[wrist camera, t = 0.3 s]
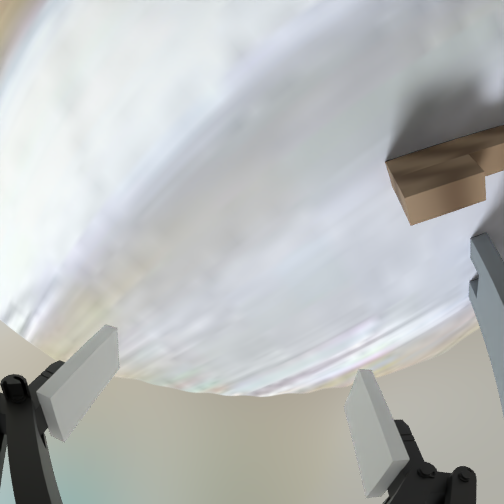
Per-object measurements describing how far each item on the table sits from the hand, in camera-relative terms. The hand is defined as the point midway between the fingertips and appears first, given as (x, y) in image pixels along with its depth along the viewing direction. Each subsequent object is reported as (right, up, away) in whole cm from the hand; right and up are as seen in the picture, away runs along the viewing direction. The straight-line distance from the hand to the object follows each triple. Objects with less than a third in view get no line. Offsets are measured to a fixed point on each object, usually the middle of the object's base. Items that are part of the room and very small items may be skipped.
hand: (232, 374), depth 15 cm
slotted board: (+22, +16, +2) cm, 27 cm away
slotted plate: (+26, +5, +12) cm, 29 cm away
